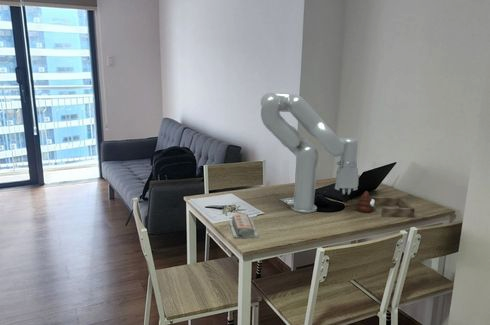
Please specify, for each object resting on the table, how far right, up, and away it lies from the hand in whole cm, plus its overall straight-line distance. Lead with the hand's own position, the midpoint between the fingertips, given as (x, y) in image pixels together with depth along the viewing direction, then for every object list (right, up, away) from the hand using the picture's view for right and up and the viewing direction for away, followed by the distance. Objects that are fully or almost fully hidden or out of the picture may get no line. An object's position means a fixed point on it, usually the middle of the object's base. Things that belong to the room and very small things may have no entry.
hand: (345, 201), depth 195 cm
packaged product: (-49, -10, -26) cm, 56 cm away
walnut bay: (+22, -5, +1) cm, 22 cm away
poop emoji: (+10, -4, +1) cm, 11 cm away
